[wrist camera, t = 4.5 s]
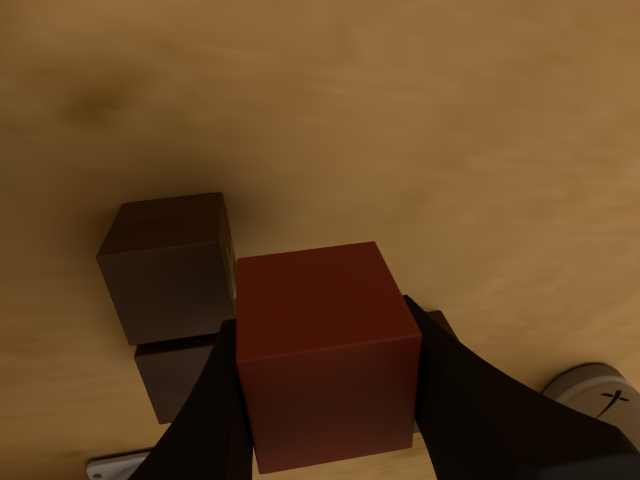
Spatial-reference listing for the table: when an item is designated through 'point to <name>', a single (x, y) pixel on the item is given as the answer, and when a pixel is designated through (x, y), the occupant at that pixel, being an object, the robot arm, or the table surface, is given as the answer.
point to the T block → (171, 268)
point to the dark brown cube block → (172, 371)
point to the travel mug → (600, 397)
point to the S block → (325, 356)
